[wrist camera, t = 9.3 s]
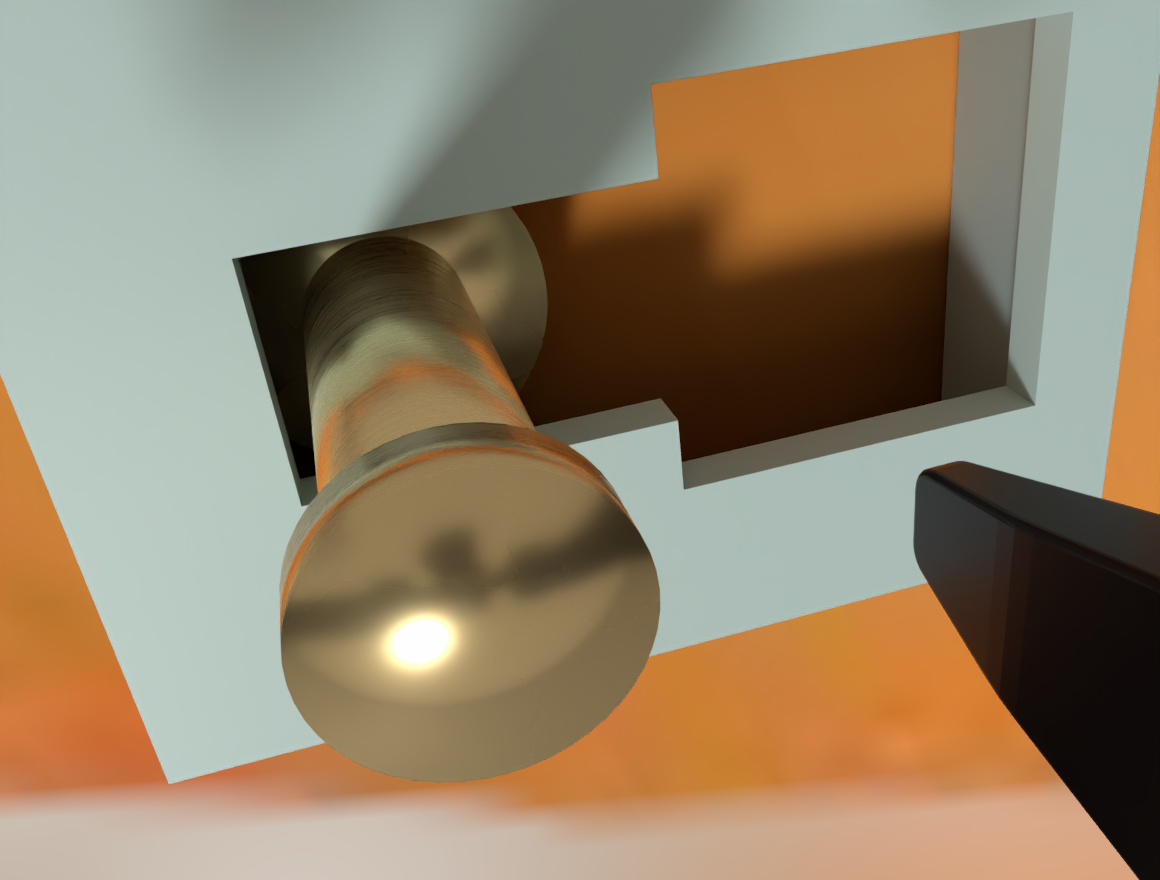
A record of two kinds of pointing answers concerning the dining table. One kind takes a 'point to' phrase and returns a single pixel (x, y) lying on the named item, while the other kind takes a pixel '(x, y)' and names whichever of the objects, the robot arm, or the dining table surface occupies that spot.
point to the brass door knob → (442, 509)
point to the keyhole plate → (481, 183)
